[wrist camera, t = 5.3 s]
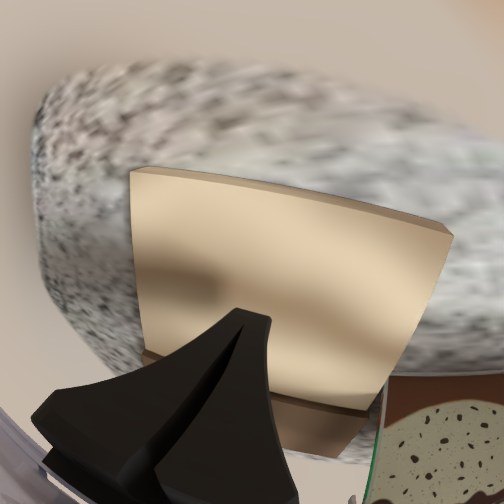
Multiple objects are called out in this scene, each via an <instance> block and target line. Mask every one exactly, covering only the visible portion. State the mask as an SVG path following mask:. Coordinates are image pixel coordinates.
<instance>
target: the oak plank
mask: <svg viewBox="0 0 504 504" xmlns="http://www.w3.org/2000/svg"><path fill="white" fill-rule="evenodd" d="M130 207H131V228H132V244H133V257H134V268H135V277H136V286H137V295H138V303H139V310H140V317H141V324H142V330H143V336H144V342H145V348H146V349H147V350H150V351H152V352H155V353H157V354H160V355H162V356H167V355H169V354H171V353H172V352H174V351H176V350H177V349H179V348H181V347H182V346H184V345H185V344H187V343H189V342H190V341H192V340H193V339H195V338H196V337H198V336H199V335H200V334H202V333H203V332H205V331H206V330H207V329H209V328H210V327H211V326H213V325H214V324H215V323H217V322H218V321H219V320H220V319H222V318H223V317H224V316H225V315H226V314H228V313H229V312H230V311H231V310H232V309H234V308H236V307H237V308H241V309H244V310H248V311H252V312H255V313H259V314H263V315H267V316H270V317H271V319H272V323H271V328H270V333H269V338H268V343H267V369H268V382H269V391H272V392H275V393H279V394H283V395H287V396H292V397H296V398H300V399H305V400H309V401H314V402H319V403H324V404H329V405H334V406H340V407H346V408H352V409H358V410H365V411H366V410H367V409H368V407H369V406H370V405H371V403H372V402H373V400H374V399H375V397H376V396H377V394H378V393H379V391H380V390H381V388H382V386H383V385H384V383H385V382H386V380H387V378H388V377H389V375H390V374H391V372H392V370H393V369H394V367H395V365H396V363H397V362H398V360H399V358H400V357H401V355H402V353H403V351H404V349H405V348H406V346H407V344H408V342H409V340H410V338H411V336H412V334H413V332H414V331H415V329H416V327H417V325H418V323H419V321H420V319H421V316H422V314H423V312H424V310H425V308H426V306H427V304H428V301H429V299H430V297H431V295H432V292H433V290H434V288H435V285H436V283H437V281H438V278H439V276H440V273H441V271H442V268H443V266H444V263H445V260H446V258H447V255H448V252H449V249H450V247H451V244H452V241H453V238H454V235H453V234H452V233H451V232H450V231H449V230H448V229H447V228H446V227H445V226H444V225H443V224H442V223H438V222H435V221H432V220H428V219H425V218H421V217H418V216H414V215H410V214H407V213H403V212H399V211H396V210H392V209H388V208H384V207H380V206H376V205H372V204H368V203H364V202H360V201H355V200H351V199H347V198H342V197H338V196H333V195H329V194H324V193H319V192H314V191H310V190H305V189H300V188H294V187H289V186H284V185H278V184H273V183H267V182H262V181H256V180H250V179H244V178H237V177H231V176H224V175H217V174H210V173H203V172H195V171H187V170H179V169H171V168H162V167H152V166H147V167H144V168H140V169H137V170H133V171H130Z"/></svg>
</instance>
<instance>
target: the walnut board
mask: <svg viewBox="0 0 504 504" xmlns="http://www.w3.org/2000/svg"><path fill="white" fill-rule="evenodd" d="M141 356H142V361H143V365H144V366H147V365H149V364H151V363H153V362H155V361H157V360H159V359H161V358H163V357H165V356H162V355H160V354H157V353H155V352H152V351H150V350H147V349H145V350H144V352H143V353H142V354H141ZM270 398H271V404H272V410H273V415H274V420H275V424H276V428H277V432H278V436H279V439H280V443H281V447H282V448H285V449H289V450H294V451H299V452H304V453H309V454H314V455H320V456H326V457H333V458H337V457H338V455H339V454H340V453H341V452H342V451H343V450H344V449H345V447H346V446H347V445H348V444H349V443H350V442H351V440H352V439H353V438H354V437H355V435H356V434H357V433H358V432H359V431H360V429H361V428H362V427H363V425H364V424H365V423H366V422H367V420H368V419H369V407H368V409H367V410H366V411H365V410H358V409H352V408H346V407H340V406H334V405H329V404H324V403H319V402H314V401H309V400H305V399H300V398H296V397H292V396H287V395H283V394H279V393H275V392H272V391H270Z"/></svg>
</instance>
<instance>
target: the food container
mask: <svg viewBox="0 0 504 504" xmlns="http://www.w3.org/2000/svg"><path fill="white" fill-rule="evenodd" d="M348 504H356V497H355V495H352V496H351V497H350V499H349V501H348ZM362 504H504V369H502V370H488V371H469V372H402V371H392V372H391V374H390V375H389V377H388V378H387V380H386V382H385V383H384V385H383V386H382V390H381V400H380V409H379V417H378V425H377V432H376V438H375V445H374V450H373V456H372V461H371V467H370V472H369V476H368V481H367V485H366V490H365V494H364V498H363V502H362Z"/></svg>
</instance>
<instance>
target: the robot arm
mask: <svg viewBox="0 0 504 504" xmlns="http://www.w3.org/2000/svg"><path fill="white" fill-rule="evenodd" d="M271 323H272V319H271V317H270V316H267V315H263V314H259V313H255V312H252V311H248V310H244V309H241V308H237V307H236V308H234V309H232V310H231V311H230V312H229V313H228V314H226V315H225V316H224V317H223V318H222V319H220V320H219V321H218V322H217V323H215V324H214V325H213V326H211V327H210V328H209V329H207V330H206V331H205V332H203V333H202V334H200V335H199V336H198V337H196V338H195V339H193V340H192V341H190V342H189V343H187V344H185V345H184V346H182V347H181V348H179V349H177V350H176V351H174V352H172V353H171V354H169V355H167V356H165V357H163V358H161V359H159V360H157V361H155V362H153V363H151V364H149V365H147V366H144V367H142V368H140V369H137V370H135V371H132V372H130V373H127V374H124V375H121V376H118V377H115V378H112V379H109V380H105V381H101V382H98V383H94V384H90V385H85V386H79V387H72V388H66V389H58V390H55V391H54V392H53V393H52V394H51V395H50V396H49V397H48V398H47V399H46V400H45V401H44V402H43V403H42V405H41V406H40V407H39V408H38V409H37V410H36V411H35V412H34V413H33V415H32V416H31V421H32V423H33V424H34V426H35V427H36V428H37V429H38V431H39V432H40V433H41V434H42V435H43V436H44V437H45V439H46V440H47V441H48V442H49V443H50V444H51V445H52V446H53V448H52V449H51V450H50V451H49V453H47V452H46V451H45V450H44V449H43V448H41V447H40V446H39V445H38V444H37V443H36V442H35V441H34V440H33V439H31V438H30V437H29V436H28V435H27V434H26V433H25V432H24V431H23V430H22V429H21V428H20V427H19V426H18V425H17V424H16V423H15V422H14V421H13V420H12V419H11V418H10V417H9V416H8V415H7V414H6V413H5V412H4V410H3V409H2V408H1V407H0V504H79V503H78V502H77V501H76V500H74V499H73V498H72V497H70V496H69V495H68V494H66V493H65V492H64V491H62V490H61V489H59V488H58V487H57V486H55V485H54V484H53V483H51V482H50V481H49V480H48V479H47V473H46V472H48V473H49V474H50V475H51V476H52V477H54V478H55V479H56V480H58V481H59V482H60V483H61V484H62V485H64V486H65V487H66V488H68V489H69V490H70V491H72V492H73V493H74V494H76V495H77V496H78V497H80V498H81V499H83V500H84V501H86V502H87V503H89V504H299V497H298V491H297V489H296V486H295V484H294V481H293V479H292V477H291V474H290V471H289V468H288V465H287V463H286V459H285V457H284V453H283V450H282V447H281V443H280V439H279V436H278V432H277V428H276V424H275V420H274V415H273V410H272V404H271V398H270V391H269V382H268V369H267V343H268V338H269V333H270V328H271Z"/></svg>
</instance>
